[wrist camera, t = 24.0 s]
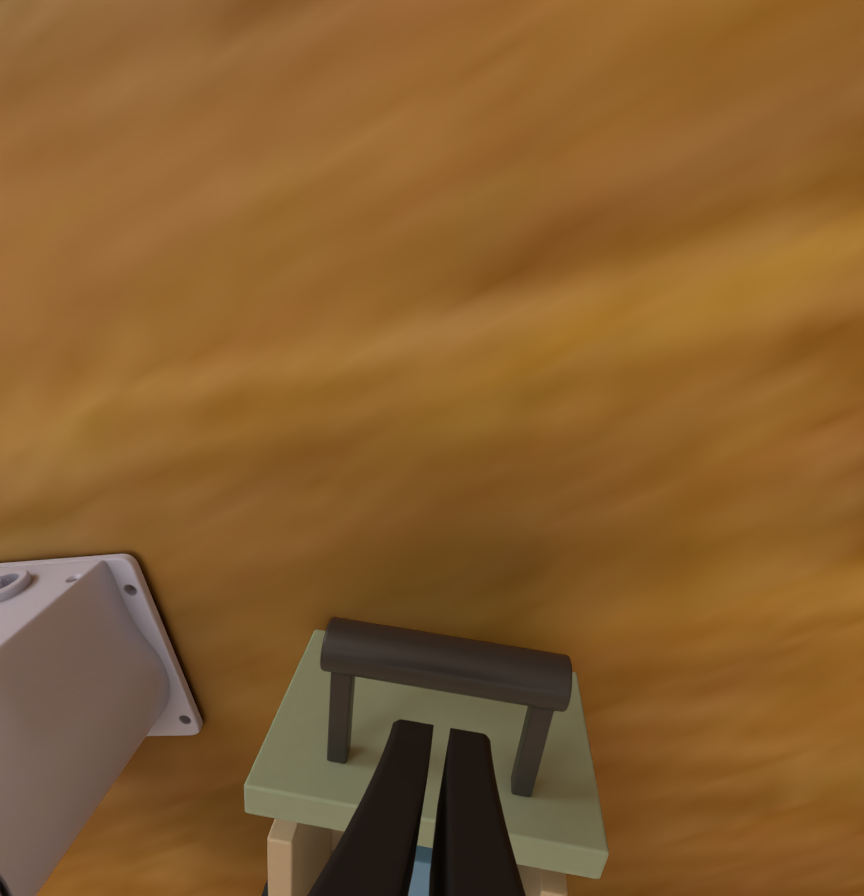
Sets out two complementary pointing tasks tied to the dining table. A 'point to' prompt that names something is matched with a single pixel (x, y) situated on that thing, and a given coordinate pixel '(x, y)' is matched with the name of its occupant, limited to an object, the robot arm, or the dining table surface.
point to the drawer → (445, 706)
